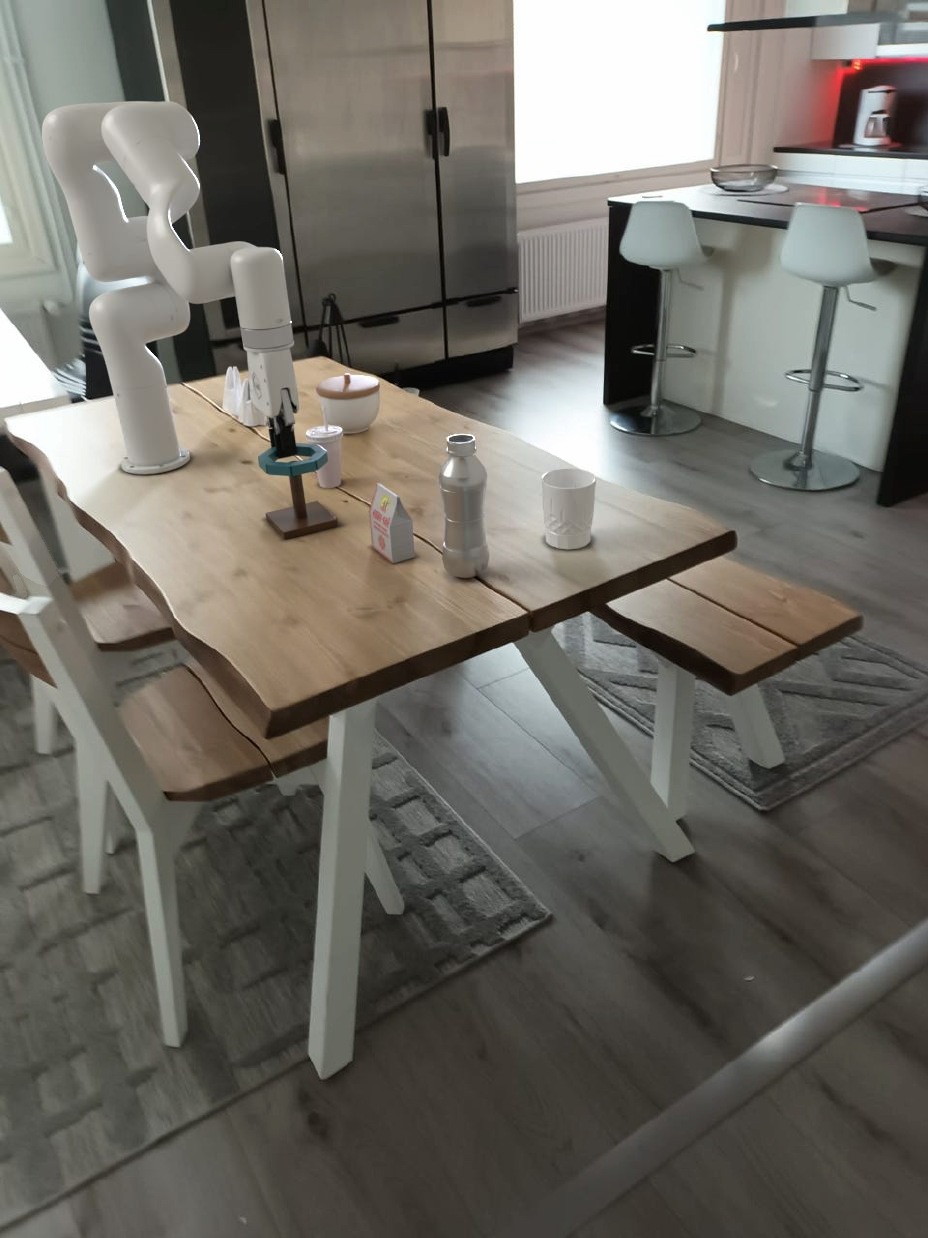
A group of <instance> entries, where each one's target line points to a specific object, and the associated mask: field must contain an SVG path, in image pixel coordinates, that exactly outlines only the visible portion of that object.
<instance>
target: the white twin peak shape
mask: <svg viewBox="0 0 928 1238" xmlns="http://www.w3.org/2000/svg"><path fill="white" fill-rule="evenodd" d="M221 408H222V410H223V411H225V412H227V413H229V414H231V415H234V416H237V417H238V418H237V421H238V422H241V423H242V425H243V426H246V427H255V426H259V425H260V426H266V425H267V419H266V417H265V414H264V413H262V412H261V411H260V410H259V409H258V408H256V407H255V406H254V404H253V402H252V397H251V389H250V380H249V378H245V379H244V380H243V381H242V379H241V375H240V372H239V369H238V367H237V366H234V365H233V367H232V366H228V367H227V370H226V373H225V383H224V389H223V399H222V407H221Z"/></svg>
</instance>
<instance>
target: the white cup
mask: <svg viewBox="0 0 928 1238" xmlns="http://www.w3.org/2000/svg"><path fill="white" fill-rule="evenodd" d="M596 485H597V476H596V475H595V474H594V473H592V472H590V471H588V470H585V469H580V468H559V469H553V470H550V471H548V472H546V473H544V474H543V475H542V477H541V492H542V510H543V523H544V529H545V530H544V531H545V542H546V543H547V544H548V545H549V546H550V547H553V548H556V549H559V550H577V549H581V548H584V547H586V546H587V545H588V544H590V543H591V536H592V535H591V534H592V527H593V520H594V513H595V512H594V510H595V499H596V498H595V497H596Z"/></svg>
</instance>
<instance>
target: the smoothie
mask: <svg viewBox="0 0 928 1238" xmlns="http://www.w3.org/2000/svg"><path fill="white" fill-rule="evenodd" d="M323 416H324V417H323ZM322 417H323V424H324V425H318V426H314V427H311V428H309V429H307V430H306V431H305V440H306V441H307V442H308V444H317V445H319V446H321V447H322V448H323V449H325V450H326V451H327V456H328V462H327V463H326V464H325V465H323V466H322V467H321V468H320V469H319V470H316V471H315V473H316V476H317V480H318V485H319V487H320V488H324V489H334V488H337V487H339V486H341V484H342V438H343V437H344V433H343V432H342V429H341V428H340V427H337V426H330V425H329V424H328V421H327V413H326V406H323V415H322Z"/></svg>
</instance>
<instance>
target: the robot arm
mask: <svg viewBox="0 0 928 1238" xmlns="http://www.w3.org/2000/svg"><path fill="white" fill-rule="evenodd" d="M41 142H42V147H43V152H44V155H45V158H46V160H47V163H48V165H49V167H50V170H51V171H52V173H53V175H54V177H55V179H56V181H57V183H58V184H59V186H60V189H61V191H62V193H63V195H64V199H65V201H66V203H67V207H68V212H69V216H70V219H71V222H72V226H73V231H74V234H75V237H76V241H77V244H78V248H79V251H80V255H81V258H82V262H83V264H84V267H85V269H86V271H87V273H88V274H89V276H90V277H91V278H92V279H93V280H94V281H97V282H102V283H112V282H120V281H125V280H129V279H135V278H140V277H145V279H146V282H147V283H144V284H140V285H139V284H138V285H133V286H127V287H122V288H117V289H113V290H109V291H106V292H104V293H102V294H99V295H98V296H97V297H95V298H94V299H93V300H92V302H91V304H90V305H89V309H88V319H89V323H90V326H91V328H92V331H93V333H94V335H95V338H96V340H97V343H98V345H99V347H100V350H101V354H102V356H103V359H104V361H105V363H104V364H105V365H106V369H107V374H108V377H109V382H110V386H111V390H112V394H113V398H114V403H115V407H116V411H117V416H118V420H119V424H120V429H121V433H122V437H123V442H124V446H125V450H126V455H124V456H123V457H122V458H121V460H120V462H119V463H120V467H121V469H122V470H123V471H124V472H126V473H129V474H133V475H154V474H161V473H165V472H170V471H173V470H177V469H178V468H181V467H183V466H184V465H186V464H187V463H188V462H189V461H190V459H191V456H190V452H189V451H188V449H187V448H184V447H182V446H180V444H179V438H178V434H177V429H176V423H175V419H174V413H173V409H172V403H171V400H170V394H169V389H168V385H167V379H166V374H165V371H164V367H163V365H162V363H161V362H160V360H159V359H158V357H156V356H155V355H154V353H152V352H151V350H150V349H149V348H148V347H147V344H148V343H152V342H155V341H158V340H163V339H166V338H171V337H174V336H177V335H180V334H182V333H184V332H185V331H186V330H187V329H188V328H189V325H190V322H191V310H190V309H191V308H190V304H195V305H200V304H205V303H206V304H207V303H210V302H215V301H219V300H223V299H228V298H234V297H235V302H236V309H237V315H238V320H239V328H240V334H241V340H242V346H243V350H244V351H245V352H246V358H247V369H248V381H249V384H250V389H251V397H252V402H253V404H254V406H255V407H256V408H258V409H259V410H260V411H261V412H262V413H264V416H266V417H265V418H266V425H267V427H268V435H269V436H268V437H269V442H270V448H271V447H276V454H277V457H279V458H282V459H284V458H283V457H286V458H289V457H288V456H291V457H293V456H292V455H296V454H297V448H296V443H297V442H296V434H295V424H296V419H295V415H294V414H298V412H299V411H300V399H299V390H298V384H297V377H296V373H295V367H294V362H293V358H292V353H291V348H292V347H294V346H295V341H294V340H295V339H294V333H293V324H292V319H291V318H292V317H291V310H290V302H289V295H288V288H287V279H286V274H285V273H286V272H285V266H284V259H283V256H282V254H281V253H280V251H279V250H277V249H276V248H274V247H269V246H256V245H254V244H252V243H250V242H246V241H240V240H239V241H230V242H224V243H218V244H213V245H212V244H211V245H205V246H199V247H194V248H191V249H188V247H186V245H185V244H184V243H183V241H182V240H181V239H180V237H179V236H178V234H177V232H176V231H175V230H174V228H173V226H172V225H173V224H174V223H176V222H177V221H178V220H179V219H181V218H182V217H183V216H184V215H185V214H187V213H188V212H189V211H190V210H191V209H192V207H193V206H194V205H195V203H196V202H197V200H198V199H199V195H200V190H201V189H200V188H201V187H200V182H199V180H198V178H197V176H196V175H195V173H194V172H193V170H192V169H191V168H190V167H189V165H188V164H187V162H186V161H189V160H192V159H193V158H194V157H195V156H196V155H197V153H198V151H199V148H200V142H201V140H200V131H199V129H198V125H197V123H196V121H195V119H194V118H193V116H192V114H191V113H190V112H189V111H188V109H186V108H185V107H184V106H183V105H181V104H179V103H178V102H175V101H171V100H169V101H168V100H167V101H166V100H165V101H164V100H163V101H144V100H133V101H132V100H131V101H130V100H129V101H114V102H111V101H110V102H87V103H76V104H68V105H64V106H60V107H57V108H55V109H53V110H51V111H50V112H48V113H47V114H46V116H45V117H44V119H43V122H42V125H41ZM105 163H106V164H107V163H117V164H118V166H119V167H120V168H121V170H122V171H123V173H124V174H125V175H126V177H127V178H128V180H129V181H130V182H131V184H132V186H134V188H135V190H136V191H137V192H138V194H139V195H140V197H141V199H142V200H143V201H144V202H145V204H146V205H147V206H148V208H149V210H148V214H147V215H139V216H134V217H127V216H126V215H125V212H124V209H123V204H122V200H121V196H120V193H119V190H118V189H117V186H116V185H115V183H114V182H113V181H112V180H111V178H110V177H109V176H108V175H107V174H106V173H105V172H104V171H103V170H102V168H101V169H100V167H98V165H99V164H105ZM97 164H98V165H97Z"/></svg>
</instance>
